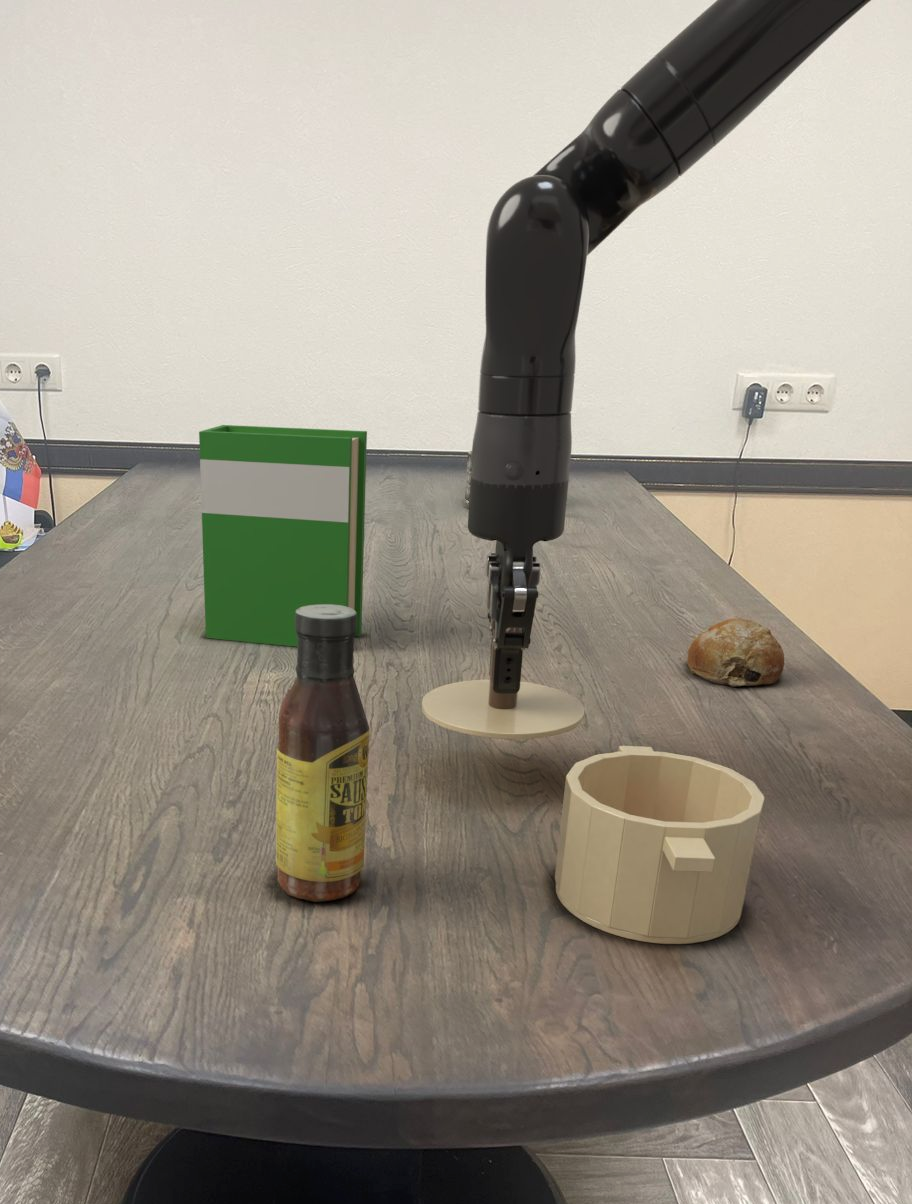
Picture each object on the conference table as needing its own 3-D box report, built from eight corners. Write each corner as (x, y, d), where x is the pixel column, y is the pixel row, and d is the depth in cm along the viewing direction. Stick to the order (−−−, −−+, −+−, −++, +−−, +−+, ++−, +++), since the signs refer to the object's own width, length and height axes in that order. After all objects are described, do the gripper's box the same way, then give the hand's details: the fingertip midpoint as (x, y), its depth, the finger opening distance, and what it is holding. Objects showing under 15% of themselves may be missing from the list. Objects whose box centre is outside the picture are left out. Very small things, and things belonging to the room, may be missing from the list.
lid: (570, 692, 100) (579, 609, 96) (596, 748, 87) (606, 655, 84) (419, 689, 100) (422, 607, 97) (423, 744, 88) (427, 652, 85)
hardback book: (361, 634, 137) (366, 431, 126) (345, 651, 130) (349, 438, 120) (227, 622, 141) (222, 424, 131) (205, 637, 135) (199, 431, 125)
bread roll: (693, 714, 122) (717, 660, 116) (668, 651, 128) (688, 597, 122) (780, 712, 123) (808, 659, 117) (750, 649, 129) (775, 596, 123)
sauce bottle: (342, 914, 75) (349, 630, 67) (260, 894, 77) (257, 617, 69) (377, 873, 80) (388, 605, 72) (300, 855, 83) (301, 594, 75)
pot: (704, 842, 86) (722, 739, 82) (778, 971, 69) (805, 850, 66) (540, 836, 86) (551, 734, 83) (575, 963, 70) (590, 843, 66)
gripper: (582, 488, 79) (560, 715, 86) (556, 461, 92) (538, 662, 99) (477, 487, 79) (463, 713, 87) (465, 460, 92) (454, 660, 99)
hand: (503, 685), depth 93 cm, fingers closed on lid, 2 cm apart
